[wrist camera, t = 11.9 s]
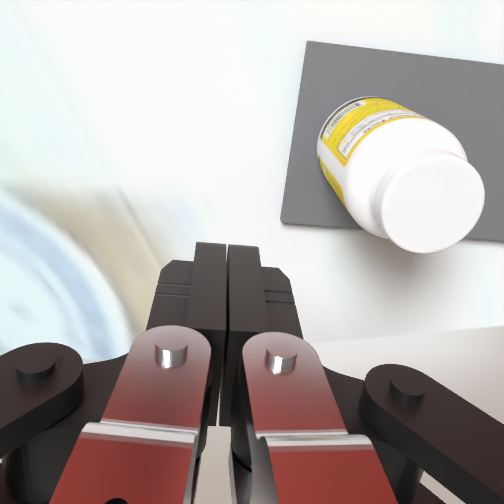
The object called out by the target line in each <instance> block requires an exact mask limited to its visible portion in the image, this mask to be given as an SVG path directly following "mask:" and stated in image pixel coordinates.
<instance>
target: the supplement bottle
mask: <svg viewBox="0 0 504 504" xmlns="http://www.w3.org/2000/svg"><path fill="white" fill-rule="evenodd" d="M317 158H318V162H319V165H320V168H321V170H322V172H323V174H324V176H325V177H326V179H327V180H328V182H329V183H330V185H331V186H332V188H333V189H334V191H335V192H336V194H337V195H338V197H339V198H340V200H341V201H342V203H343V204H344V206H345V207H346V209H347V211H348V212H349V213H350V215H351V216H352V217H353V219H354V220H355V221H356V222H357V223H358V224H359V225H360V226H361V227H362V228H363V229H365V230H366V231H368V232H369V233H371V234H373V235H375V236H378V237H381V238H384V239H390V240H391V241H392V242H393V243H394V244H396V245H397V246H399V247H400V248H402V249H404V250H406V251H409V252H414V253H434V252H438V251H441V250H444V249H447V248H449V247H451V246H453V245H454V244H456V243H457V242H459V241H460V240H462V239H463V238H464V237H465V236H466V235H467V234H468V233H469V232H470V231H471V230H472V228H473V227H474V226H475V224H476V223H477V221H478V219H479V217H480V215H481V213H482V209H483V206H484V199H485V190H484V185H483V182H482V179H481V177H480V175H479V173H478V172H477V171H476V169H475V168H474V167H473V166H472V165H471V164H469V163H468V161H467V156H466V154H465V151H464V149H463V147H462V145H461V143H460V142H459V140H458V139H457V138H456V137H455V136H454V135H453V134H452V133H451V132H450V131H448V130H447V129H446V128H444V127H443V126H441V125H439V124H438V123H436V122H434V121H432V120H430V119H428V118H425V117H424V116H421V115H419V114H417V113H415V112H413V111H411V110H409V109H407V108H405V107H403V106H401V105H399V104H397V103H395V102H392V101H390V100H387V99H385V98H380V97H373V96H370V97H360V98H356V99H353V100H350V101H348V102H346V103H344V104H343V105H341V106H340V107H338V108H337V109H336V110H335V111H334V112H333V113H332V114H331V115H330V116H329V117H328V118H327V120H326V121H325V123H324V125H323V127H322V129H321V131H320V134H319V137H318V142H317Z"/></svg>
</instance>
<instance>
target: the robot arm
mask: <svg viewBox="0 0 504 504" xmlns="http://www.w3.org/2000/svg"><path fill="white" fill-rule="evenodd" d="M219 392H220V409H219V426H227V427H228V426H229V427H231V444H230V452H229V462H228V463H229V474H230V485H231V496H232V504H446V503H444V502H443V501H442V500H441V499H439V498H438V497H437V496H436V495H435V494H433V493H432V492H431V491H430V490H428V489H427V488H426V487H425V486H424V485H422V484H421V483H420V479H421V477H422V474H423V472H424V471H425V472H426V473H428V474H429V475H430V476H432V477H433V478H434V479H435V480H437V481H438V482H439V483H441V484H442V485H443V486H444V487H445V488H447V489H448V490H449V491H451V492H452V493H453V494H454V495H456V496H457V497H458V498H459V499H461V500H462V501H463V502H464V503H466V504H504V424H502V423H500V422H499V421H497V420H496V419H494V418H493V417H491V416H490V415H488V414H486V413H485V412H483V411H482V410H480V409H479V408H477V407H476V406H474V405H472V404H471V403H469V402H468V401H466V400H465V399H463V398H461V397H460V396H458V395H457V394H455V393H454V392H452V391H451V390H449V389H448V388H446V387H444V386H443V385H441V384H440V383H438V382H436V381H435V380H434V379H432V378H430V377H429V376H427V375H425V374H424V373H422V372H420V371H418V370H416V369H413V368H410V367H407V366H403V365H397V364H384V365H379V366H376V367H374V368H372V369H371V370H370V371H369V372H368V373H367V375H366V378H365V381H364V380H360V379H357V378H353V377H350V376H346V375H343V374H339V373H337V372H334V371H332V370H329V369H327V368H326V367H324V366H322V364H321V362H320V359H319V356H318V354H317V352H316V351H315V349H314V348H313V347H312V346H311V345H310V344H309V343H307V342H306V341H304V340H303V336H302V331H301V327H300V323H299V318H298V314H297V310H296V306H295V301H294V297H293V294H292V289H291V284H290V280H289V279H288V277H287V276H286V275H285V274H284V273H283V272H282V271H281V270H280V269H279V268H272V267H261V262H260V255H259V248H258V247H255V246H243V245H230V244H229V245H228V251H227V261H226V244H217V243H205V242H196V249H195V257H194V262H193V261H180V260H172V261H171V262H170V263H169V264H167V265H166V266H165V267H164V268H163V269H162V270H161V272H160V276H159V280H158V285H157V288H156V292H155V296H154V300H153V304H152V308H151V312H150V316H149V320H148V324H147V328H146V331H145V332H143V333H142V334H140V335H139V336H138V337H137V338H136V339H135V340H134V342H133V344H132V346H131V348H130V351H129V353H127V354H125V355H123V356H120V357H118V358H115V359H111V360H106V361H101V362H95V363H89V364H83V362H82V359H81V356H80V355H79V354H78V353H77V352H76V351H75V350H74V349H72V348H70V347H68V346H66V345H63V344H58V343H34V344H29V345H25V346H22V347H19V348H16V349H14V350H11V351H9V352H7V353H5V354H3V355H1V356H0V459H1V458H2V463H0V504H195V498H196V491H197V484H198V477H199V470H200V463H201V453H202V452H203V450H204V448H205V445H206V438H207V428H208V426H216V420H217V410H218V401H219Z"/></svg>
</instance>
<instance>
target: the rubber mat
mask: <svg viewBox="0 0 504 504" xmlns="http://www.w3.org/2000/svg"><path fill="white" fill-rule="evenodd" d="M370 96H373V97H380V98H385V99H387V100H390V101H392V102H395V103H397V104H399V105H401V106H403V107H405V108H407V109H409V110H411V111H413V112H415V113H417V114H419V115H421V116H424V117H425V118H428V119H430V120H432V121H434V122H436V123H438V124H439V125H441V126H443V127H444V128H446V129H447V130H448V131H450V132H451V133H452V134H453V135H454V136H455V137H456V138H457V139H458V140H459V142H460V143H461V145H462V147H463V149H464V151H465V154H466V156H467V161H468V163H469V164H471V165H472V166H473V167H474V168H475V169H476V171H477V172H478V173H479V175H480V177H481V179H482V182H483V185H484V190H485V199H484V206H483V209H482V213H481V215H480V217H479V219H478V221H477V223H476V224H475V226H474V227H473V228H472V230H471V231H470V232H469V233H468V234H467V235H466V236H465V237H464V238H474V239H486V240H498V241H504V65H502V64H494V63H486V62H477V61H469V60H461V59H453V58H445V57H437V56H428V55H420V54H412V53H404V52H396V51H388V50H379V49H371V48H363V47H355V46H347V45H339V44H331V43H322V42H314V41H307V44H306V51H305V57H304V64H303V71H302V77H301V84H300V91H299V97H298V104H297V110H296V117H295V124H294V130H293V137H292V144H291V150H290V157H289V164H288V170H287V177H286V184H285V190H284V197H283V203H282V210H281V217H280V220H281V222H282V223H294V224H306V225H318V226H330V227H342V228H354V229H363V228H362V227H361V226H360V225H359V224H358V223H357V222H356V221H355V220H354V219H353V217H352V216H351V215H350V213H349V212H348V211H347V209H346V207H345V206H344V204H343V203H342V201H341V200H340V198H339V197H338V195H337V194H336V192H335V191H334V189H333V188H332V186H331V185H330V183H329V182H328V180H327V179H326V177H325V176H324V174H323V172H322V170H321V168H320V165H319V162H318V158H317V142H318V137H319V134H320V131H321V129H322V127H323V125H324V123H325V121H326V120H327V118H328V117H329V116H330V115H331V114H332V113H333V112H334V111H335V110H336V109H337V108H338V107H340V106H341V105H343V104H344V103H346V102H348V101H350V100H353V99H356V98H360V97H370Z"/></svg>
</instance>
